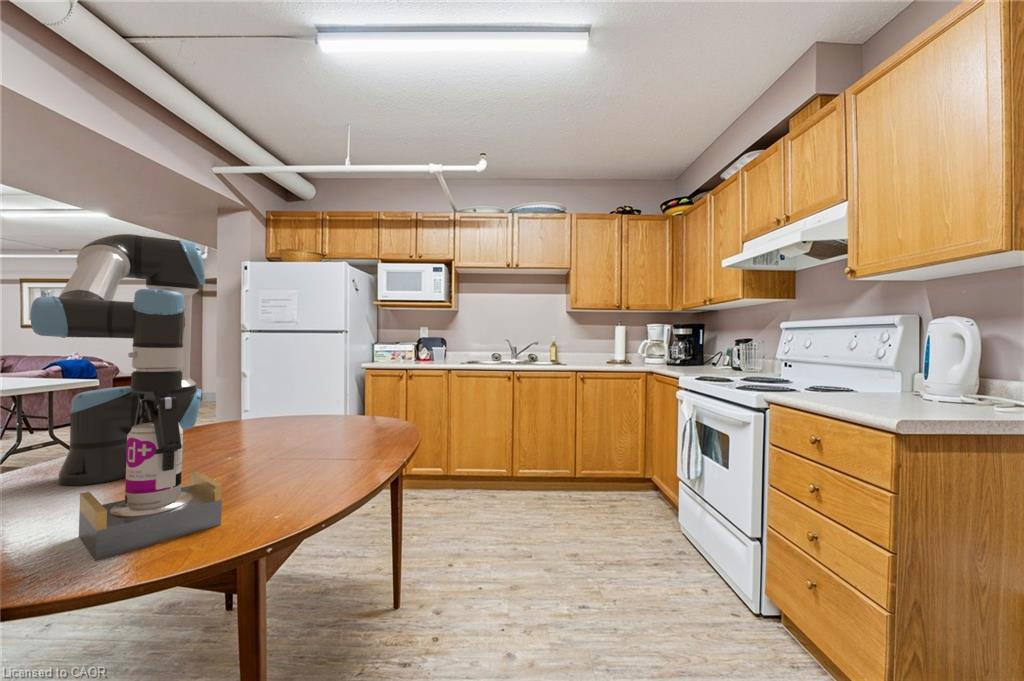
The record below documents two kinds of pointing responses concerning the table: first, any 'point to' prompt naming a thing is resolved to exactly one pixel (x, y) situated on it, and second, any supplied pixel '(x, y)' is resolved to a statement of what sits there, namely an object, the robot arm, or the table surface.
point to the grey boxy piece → (148, 519)
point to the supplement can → (147, 470)
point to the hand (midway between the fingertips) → (154, 479)
